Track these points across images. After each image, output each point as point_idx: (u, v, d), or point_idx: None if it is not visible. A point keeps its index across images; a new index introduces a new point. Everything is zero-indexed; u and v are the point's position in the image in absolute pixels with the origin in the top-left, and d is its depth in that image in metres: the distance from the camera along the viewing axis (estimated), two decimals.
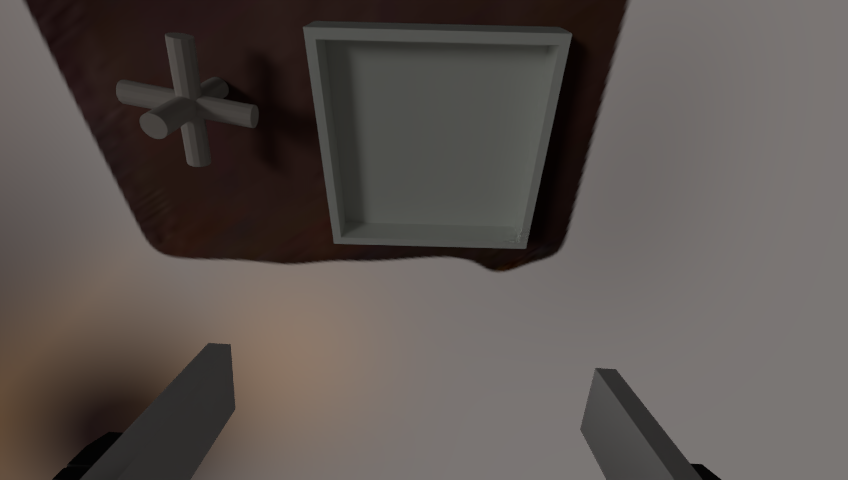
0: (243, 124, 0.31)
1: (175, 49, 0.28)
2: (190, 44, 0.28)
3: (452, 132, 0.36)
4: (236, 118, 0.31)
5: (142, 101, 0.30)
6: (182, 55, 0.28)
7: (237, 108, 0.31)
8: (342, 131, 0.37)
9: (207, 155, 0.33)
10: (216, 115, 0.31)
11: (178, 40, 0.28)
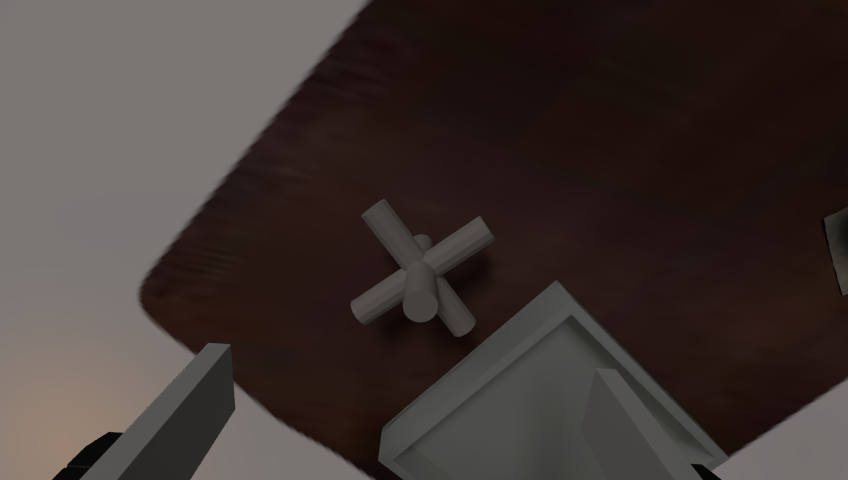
0: (452, 329, 0.25)
1: (480, 239, 0.23)
2: (491, 242, 0.24)
3: (566, 435, 0.34)
4: (455, 322, 0.25)
5: (389, 236, 0.23)
6: (478, 246, 0.23)
7: (464, 314, 0.25)
8: None
9: None
10: (441, 305, 0.25)
11: (491, 236, 0.23)
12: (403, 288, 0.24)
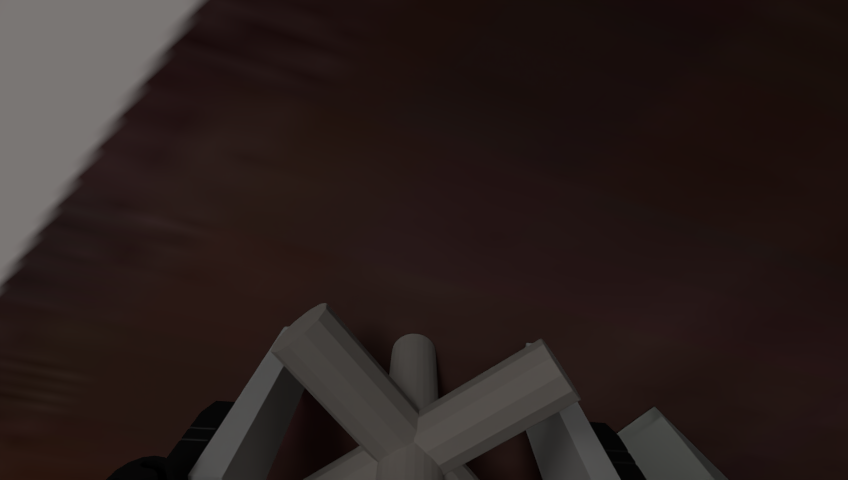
0: None
1: (549, 405, 0.10)
2: None
3: None
4: None
5: (333, 399, 0.10)
6: (542, 418, 0.10)
7: None
8: None
9: None
10: None
11: (573, 398, 0.10)
12: None
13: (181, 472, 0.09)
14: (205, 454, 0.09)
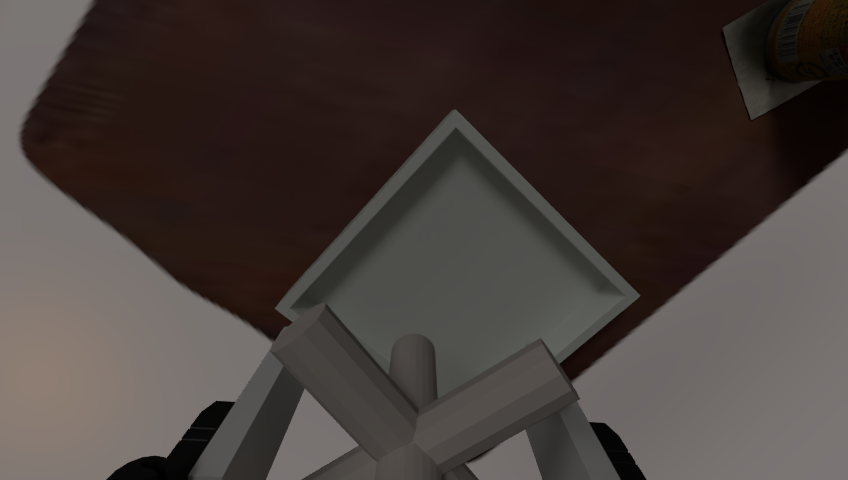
0: None
1: (548, 405, 0.10)
2: None
3: (478, 290, 0.33)
4: None
5: (332, 399, 0.10)
6: (541, 418, 0.10)
7: None
8: (386, 211, 0.31)
9: None
10: None
11: (572, 398, 0.10)
12: None
13: (181, 472, 0.09)
14: (205, 454, 0.09)
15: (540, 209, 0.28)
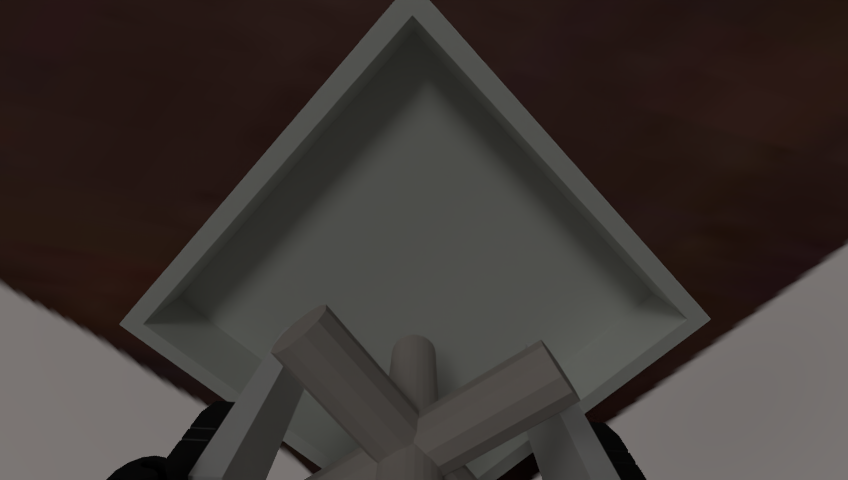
0: None
1: (549, 406, 0.10)
2: None
3: (454, 302, 0.22)
4: None
5: (333, 401, 0.10)
6: (541, 420, 0.10)
7: None
8: (307, 172, 0.19)
9: None
10: None
11: (573, 399, 0.10)
12: None
13: (181, 472, 0.09)
14: (205, 454, 0.09)
15: (556, 170, 0.17)
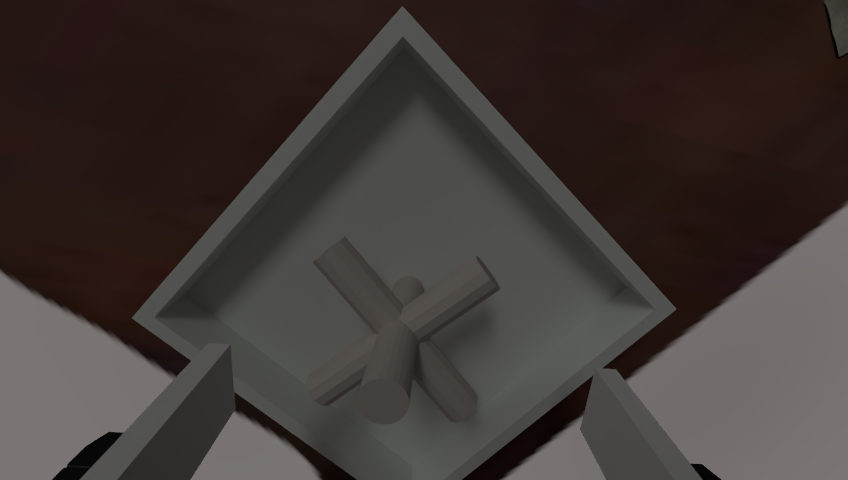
0: (446, 412, 0.18)
1: (477, 290, 0.16)
2: None
3: None
4: (448, 403, 0.18)
5: (349, 289, 0.17)
6: (474, 300, 0.17)
7: (460, 392, 0.18)
8: (307, 176, 0.21)
9: None
10: (427, 380, 0.18)
11: (492, 285, 0.16)
12: None
13: None
14: None
15: (533, 174, 0.18)
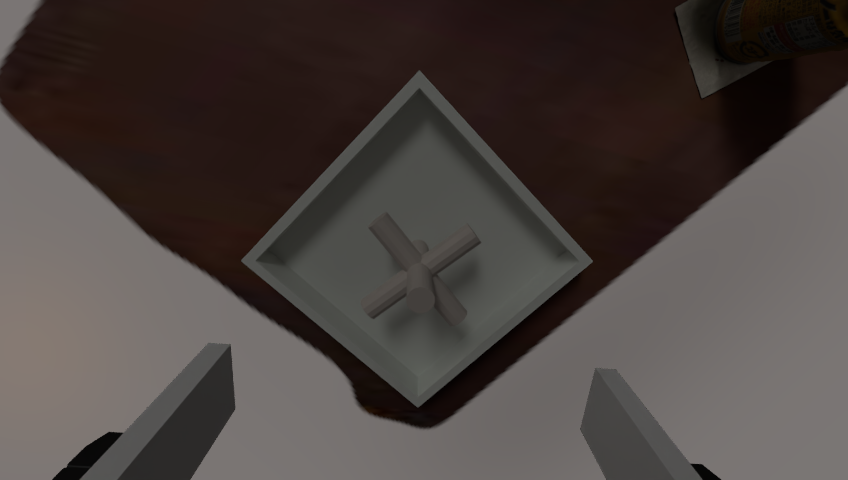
0: (448, 320, 0.30)
1: (468, 242, 0.28)
2: (477, 245, 0.28)
3: None
4: (450, 313, 0.29)
5: (391, 243, 0.28)
6: (466, 249, 0.28)
7: (457, 307, 0.30)
8: (353, 171, 0.32)
9: None
10: (437, 299, 0.29)
11: (477, 240, 0.28)
12: (405, 286, 0.29)
13: None
14: None
15: (499, 172, 0.29)
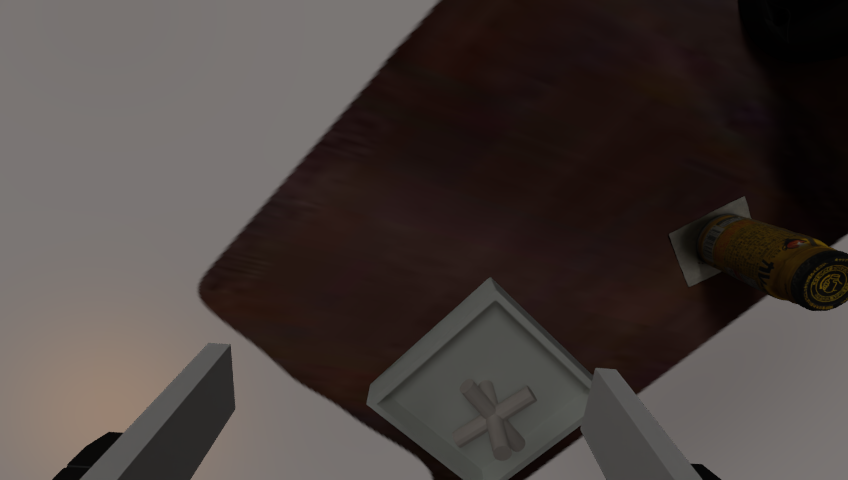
0: (512, 448, 0.43)
1: (529, 402, 0.41)
2: None
3: (502, 389, 0.48)
4: (514, 445, 0.43)
5: (476, 403, 0.41)
6: (527, 406, 0.41)
7: (519, 440, 0.43)
8: None
9: None
10: None
11: (534, 400, 0.41)
12: (484, 429, 0.42)
13: None
14: None
15: (547, 348, 0.43)
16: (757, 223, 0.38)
